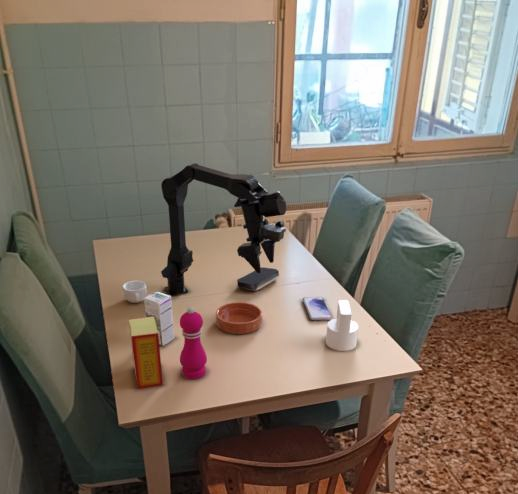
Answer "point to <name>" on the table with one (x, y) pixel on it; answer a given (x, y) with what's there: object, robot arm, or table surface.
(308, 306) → the smartphone
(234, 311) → the bowl
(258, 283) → the black sponge
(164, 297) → the syrup box
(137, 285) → the teacup
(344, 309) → the cylinder with rectangular tab
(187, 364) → the pepper mill
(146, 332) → the baking soda box
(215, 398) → the table surface
